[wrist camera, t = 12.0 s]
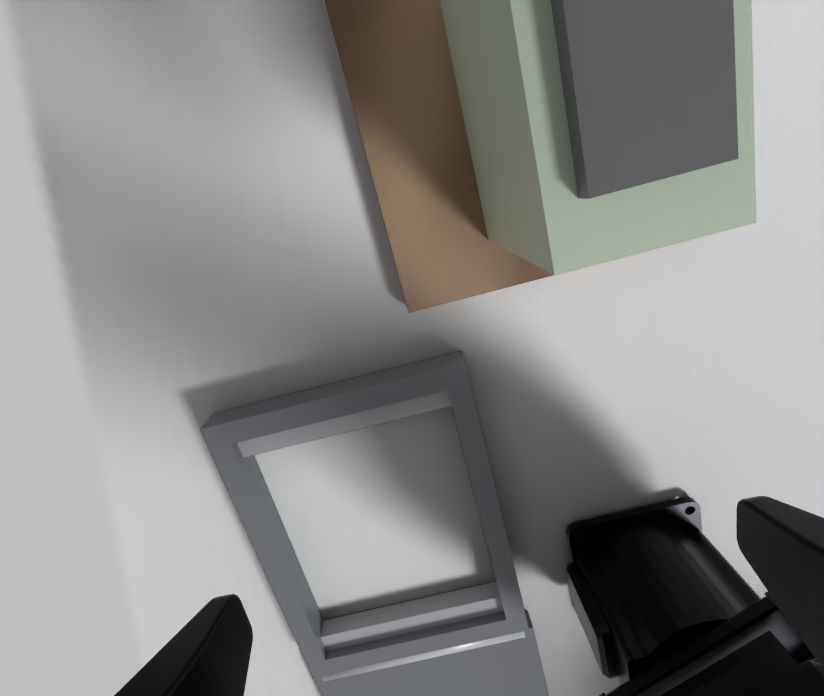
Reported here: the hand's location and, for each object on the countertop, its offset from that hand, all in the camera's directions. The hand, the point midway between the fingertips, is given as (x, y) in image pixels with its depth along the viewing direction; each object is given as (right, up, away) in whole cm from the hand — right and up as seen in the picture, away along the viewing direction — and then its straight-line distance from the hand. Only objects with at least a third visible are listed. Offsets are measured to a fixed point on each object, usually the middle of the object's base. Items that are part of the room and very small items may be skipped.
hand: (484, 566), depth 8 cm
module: (+3, +12, +8) cm, 15 cm away
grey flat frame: (-1, -11, +17) cm, 20 cm away
